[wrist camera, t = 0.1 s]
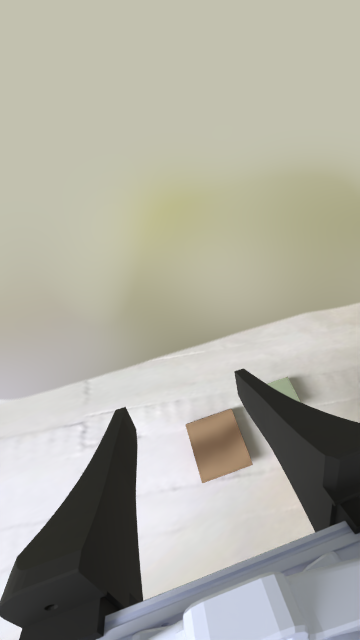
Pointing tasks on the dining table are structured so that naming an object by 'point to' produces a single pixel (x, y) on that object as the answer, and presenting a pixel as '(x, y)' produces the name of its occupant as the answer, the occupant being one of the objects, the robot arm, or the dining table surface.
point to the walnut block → (218, 445)
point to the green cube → (285, 388)
